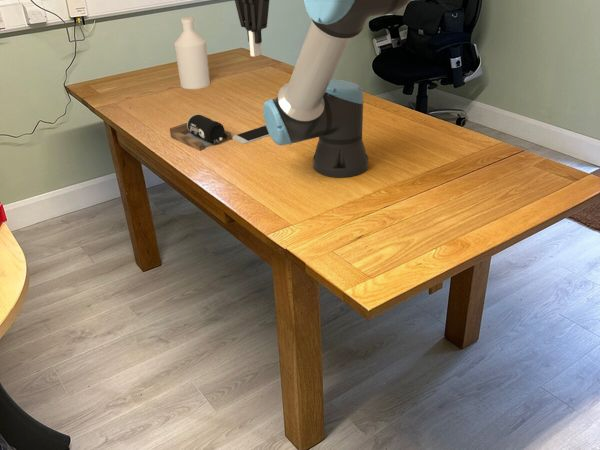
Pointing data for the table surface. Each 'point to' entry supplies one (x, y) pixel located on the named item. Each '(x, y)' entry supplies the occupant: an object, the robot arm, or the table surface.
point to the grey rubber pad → (201, 140)
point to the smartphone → (251, 135)
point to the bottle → (191, 57)
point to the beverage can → (206, 128)
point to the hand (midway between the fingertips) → (256, 55)
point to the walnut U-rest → (180, 135)
